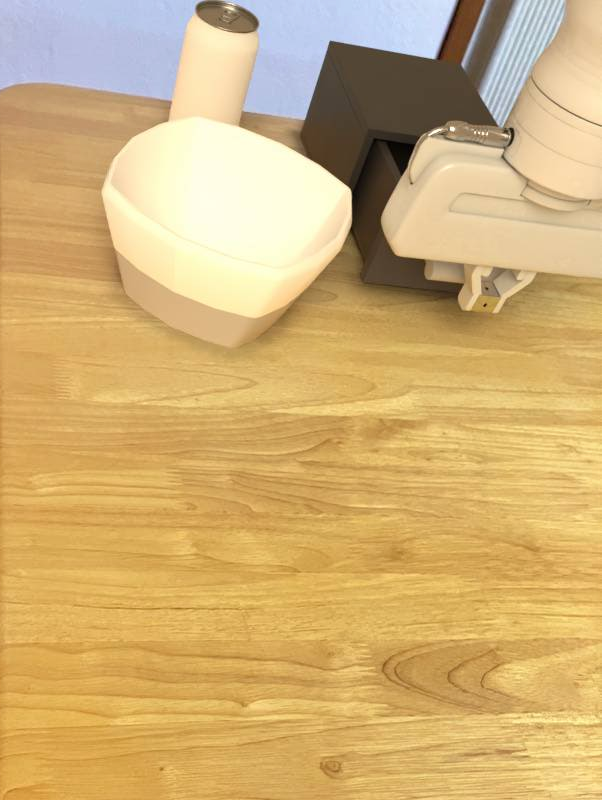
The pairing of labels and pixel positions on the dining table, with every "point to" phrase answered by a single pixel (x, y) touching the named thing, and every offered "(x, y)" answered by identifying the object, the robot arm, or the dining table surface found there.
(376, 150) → the drawer
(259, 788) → the dining table surface
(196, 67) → the can
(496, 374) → the dining table surface
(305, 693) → the dining table surface
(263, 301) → the bowl
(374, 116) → the cabinet
